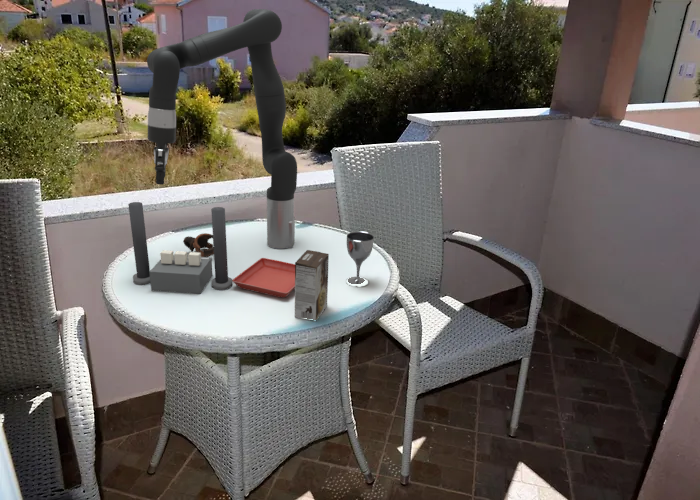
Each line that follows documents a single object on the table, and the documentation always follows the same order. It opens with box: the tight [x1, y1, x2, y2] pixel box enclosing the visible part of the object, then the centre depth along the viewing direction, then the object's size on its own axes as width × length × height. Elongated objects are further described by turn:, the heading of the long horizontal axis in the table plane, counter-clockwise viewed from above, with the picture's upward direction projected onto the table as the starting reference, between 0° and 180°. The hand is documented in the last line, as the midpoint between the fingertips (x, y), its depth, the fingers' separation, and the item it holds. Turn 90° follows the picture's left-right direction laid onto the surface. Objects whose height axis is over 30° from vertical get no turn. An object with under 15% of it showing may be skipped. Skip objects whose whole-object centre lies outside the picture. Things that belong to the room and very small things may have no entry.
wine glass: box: [346, 231, 375, 284], centre depth 155 cm, size 8×8×15 cm
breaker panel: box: [149, 255, 213, 295], centre depth 150 cm, size 14×12×6 cm
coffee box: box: [294, 249, 330, 321], centre depth 137 cm, size 9×6×16 cm
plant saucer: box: [232, 257, 295, 298], centre depth 154 cm, size 18×18×3 cm
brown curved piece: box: [183, 232, 214, 257], centre depth 170 cm, size 12×9×8 cm
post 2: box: [210, 206, 234, 291], centre depth 147 cm, size 6×6×24 cm
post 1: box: [128, 201, 151, 286], centre depth 147 cm, size 6×6×24 cm
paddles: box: [159, 249, 202, 266], centre depth 149 cm, size 12×2×3 cm, turn 88°
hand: (160, 180), depth 152 cm, fingers open, 8 cm apart
